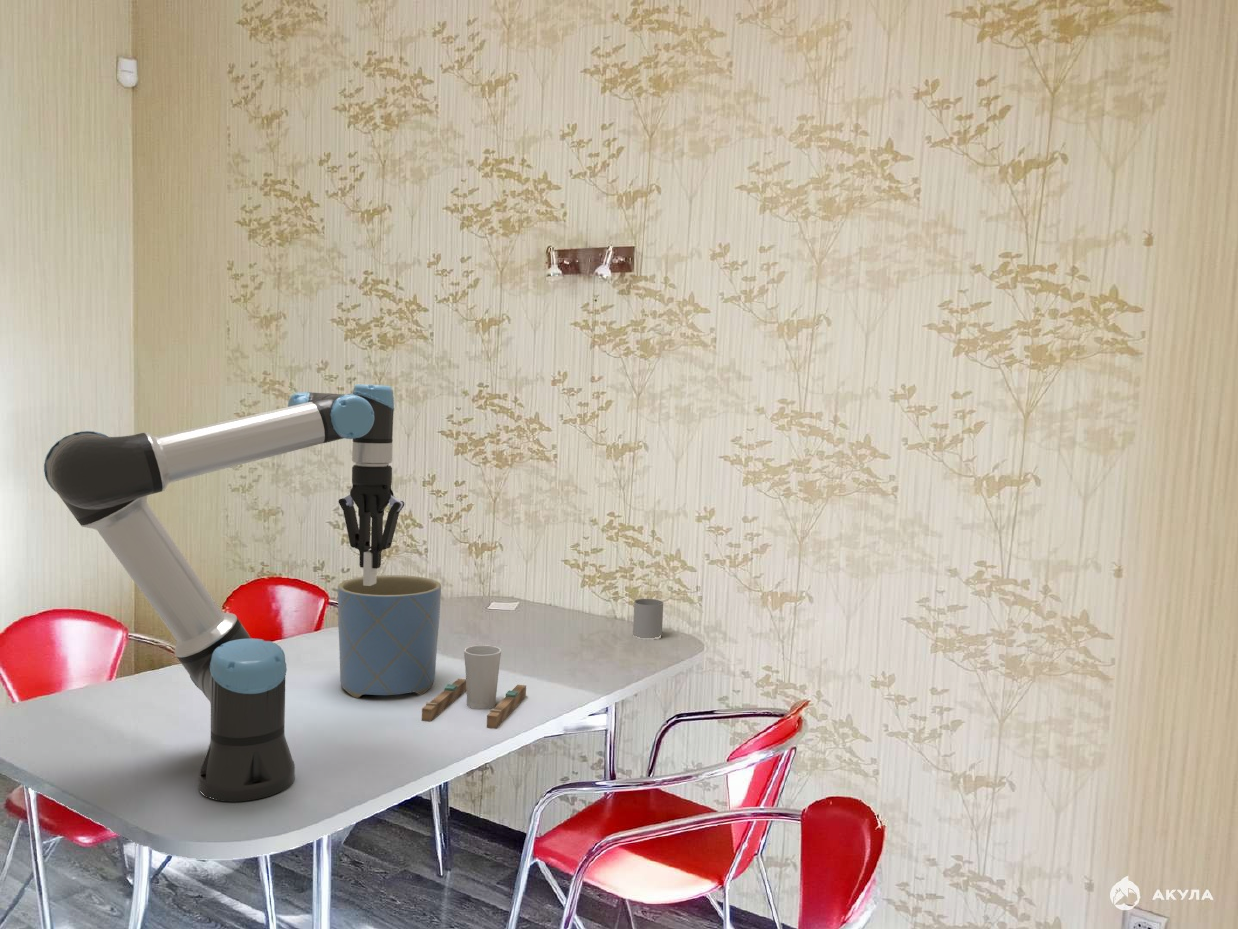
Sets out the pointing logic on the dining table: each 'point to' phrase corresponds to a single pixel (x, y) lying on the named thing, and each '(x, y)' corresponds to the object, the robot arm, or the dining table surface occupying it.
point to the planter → (388, 634)
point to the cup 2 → (648, 618)
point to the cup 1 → (482, 675)
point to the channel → (459, 688)
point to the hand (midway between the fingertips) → (369, 584)
